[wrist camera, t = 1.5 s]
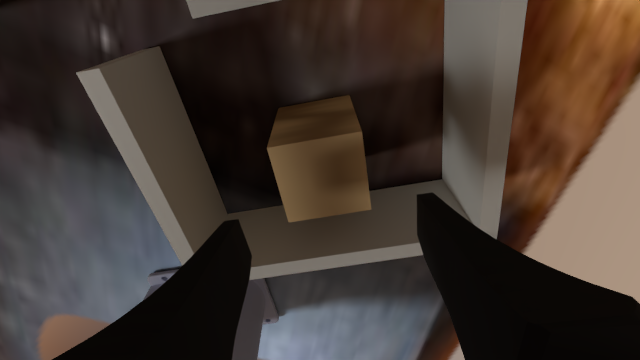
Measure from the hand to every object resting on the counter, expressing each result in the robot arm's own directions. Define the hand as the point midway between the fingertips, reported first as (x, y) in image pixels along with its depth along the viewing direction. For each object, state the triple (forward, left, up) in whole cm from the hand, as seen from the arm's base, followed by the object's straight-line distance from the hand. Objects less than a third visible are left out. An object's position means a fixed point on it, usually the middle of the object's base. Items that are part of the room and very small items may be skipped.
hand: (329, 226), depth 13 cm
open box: (0, +1, -10) cm, 10 cm away
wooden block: (0, 0, -10) cm, 10 cm away
